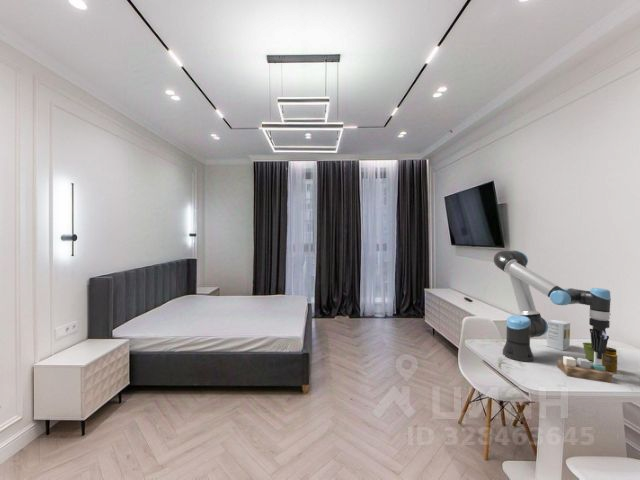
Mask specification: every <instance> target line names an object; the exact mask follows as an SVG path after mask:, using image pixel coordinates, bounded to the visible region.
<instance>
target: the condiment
mask: <svg viewBox="0 0 640 480" xmlns="http://www.w3.org/2000/svg"><path fill="white" fill-rule="evenodd" d="M617 353H618V352H617V349H616V348H613V347H609V346H607V347H606V352H605V353H602V366H604V367H605V370H607V371H608V372H609V373H611V374H612V375H613V374H622V372H620V371H618V355H617Z"/></svg>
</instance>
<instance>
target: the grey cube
mask: <svg viewBox="0 0 640 480" xmlns="http://www.w3.org/2000/svg"><path fill="white" fill-rule="evenodd" d="M576 362H577V366H578V367H580V368H585V369H590V364H591V360H587V359H586V358H580V357H577V358H576Z"/></svg>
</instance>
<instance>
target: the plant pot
mask: <svg viewBox="0 0 640 480" xmlns="http://www.w3.org/2000/svg"><path fill="white" fill-rule="evenodd" d="M581 344H582V345H583V348H584V354H585V355H584V357H585V359H587V360H588V361H590V362H591V361H592V362H594V350H593V348H592V345H591V342H582V343H581Z"/></svg>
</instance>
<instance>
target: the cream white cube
mask: <svg viewBox="0 0 640 480" xmlns="http://www.w3.org/2000/svg"><path fill="white" fill-rule="evenodd" d="M562 360H563V364H564V365H565V366H571V367H576V362H577V359H576V358H574V357H573V356H566V355H563V357H562Z"/></svg>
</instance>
